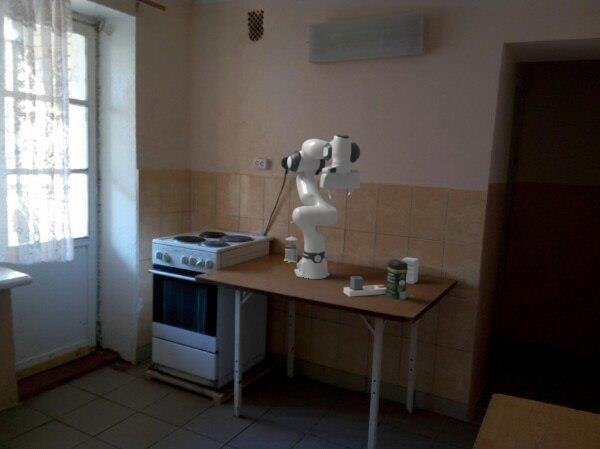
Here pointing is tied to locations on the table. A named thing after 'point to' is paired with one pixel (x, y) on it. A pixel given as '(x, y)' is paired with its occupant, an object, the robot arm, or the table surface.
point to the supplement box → (411, 269)
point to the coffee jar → (396, 279)
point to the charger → (356, 283)
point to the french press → (291, 250)
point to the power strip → (366, 290)
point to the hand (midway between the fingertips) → (340, 198)
